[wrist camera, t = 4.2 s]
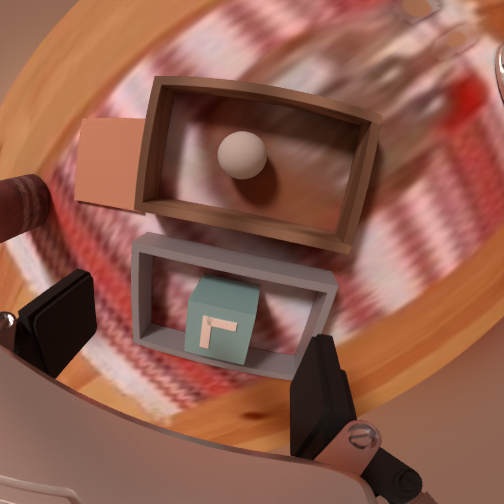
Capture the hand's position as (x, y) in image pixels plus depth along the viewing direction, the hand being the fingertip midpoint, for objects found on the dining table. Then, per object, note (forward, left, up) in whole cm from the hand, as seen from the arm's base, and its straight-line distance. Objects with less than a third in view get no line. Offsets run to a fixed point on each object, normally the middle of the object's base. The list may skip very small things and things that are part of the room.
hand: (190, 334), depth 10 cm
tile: (+13, -5, -13) cm, 19 cm away
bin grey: (0, +6, -13) cm, 15 cm away
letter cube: (0, +6, -13) cm, 15 cm away
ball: (+1, -7, -13) cm, 15 cm away
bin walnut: (0, -7, -13) cm, 15 cm away
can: (+24, 0, -14) cm, 27 cm away
